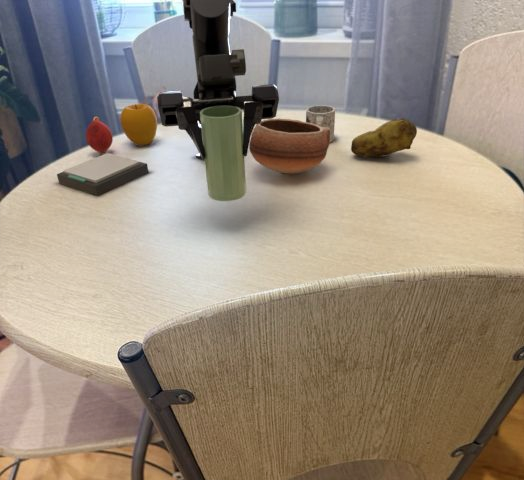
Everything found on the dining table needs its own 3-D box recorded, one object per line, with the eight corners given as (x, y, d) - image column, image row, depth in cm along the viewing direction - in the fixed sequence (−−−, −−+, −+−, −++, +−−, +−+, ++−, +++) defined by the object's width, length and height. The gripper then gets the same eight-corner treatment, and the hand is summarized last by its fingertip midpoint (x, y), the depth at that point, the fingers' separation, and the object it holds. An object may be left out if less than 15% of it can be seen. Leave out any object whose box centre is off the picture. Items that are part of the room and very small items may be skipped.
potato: (359, 147, 121) (362, 110, 115) (416, 154, 116) (422, 116, 111) (347, 159, 115) (349, 121, 110) (405, 168, 110) (411, 128, 105)
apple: (143, 135, 133) (137, 97, 127) (168, 140, 129) (162, 101, 123) (117, 145, 127) (109, 106, 122) (142, 151, 123) (135, 111, 118)
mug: (306, 134, 129) (307, 105, 125) (334, 134, 128) (335, 105, 124) (303, 148, 121) (303, 118, 117) (332, 149, 120) (334, 118, 116)
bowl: (341, 168, 111) (344, 118, 105) (292, 192, 102) (292, 139, 96) (285, 152, 120) (284, 105, 113) (235, 173, 111) (232, 123, 105)
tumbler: (224, 182, 92) (218, 103, 84) (253, 190, 89) (249, 109, 81) (200, 195, 88) (191, 113, 80) (229, 204, 85) (223, 120, 77)
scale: (110, 162, 119) (108, 150, 117) (148, 172, 113) (146, 160, 111) (59, 183, 110) (55, 171, 108) (97, 196, 104) (94, 183, 103)
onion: (109, 158, 121) (101, 121, 115) (85, 157, 122) (76, 120, 116) (119, 149, 125) (112, 113, 120) (96, 148, 126) (88, 113, 121)
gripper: (147, 32, 76) (158, 135, 75) (276, 24, 78) (289, 125, 76) (157, 79, 87) (167, 170, 86) (269, 71, 89) (281, 160, 87)
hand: (224, 156), depth 84 cm, fingers closed on tumbler, 6 cm apart
